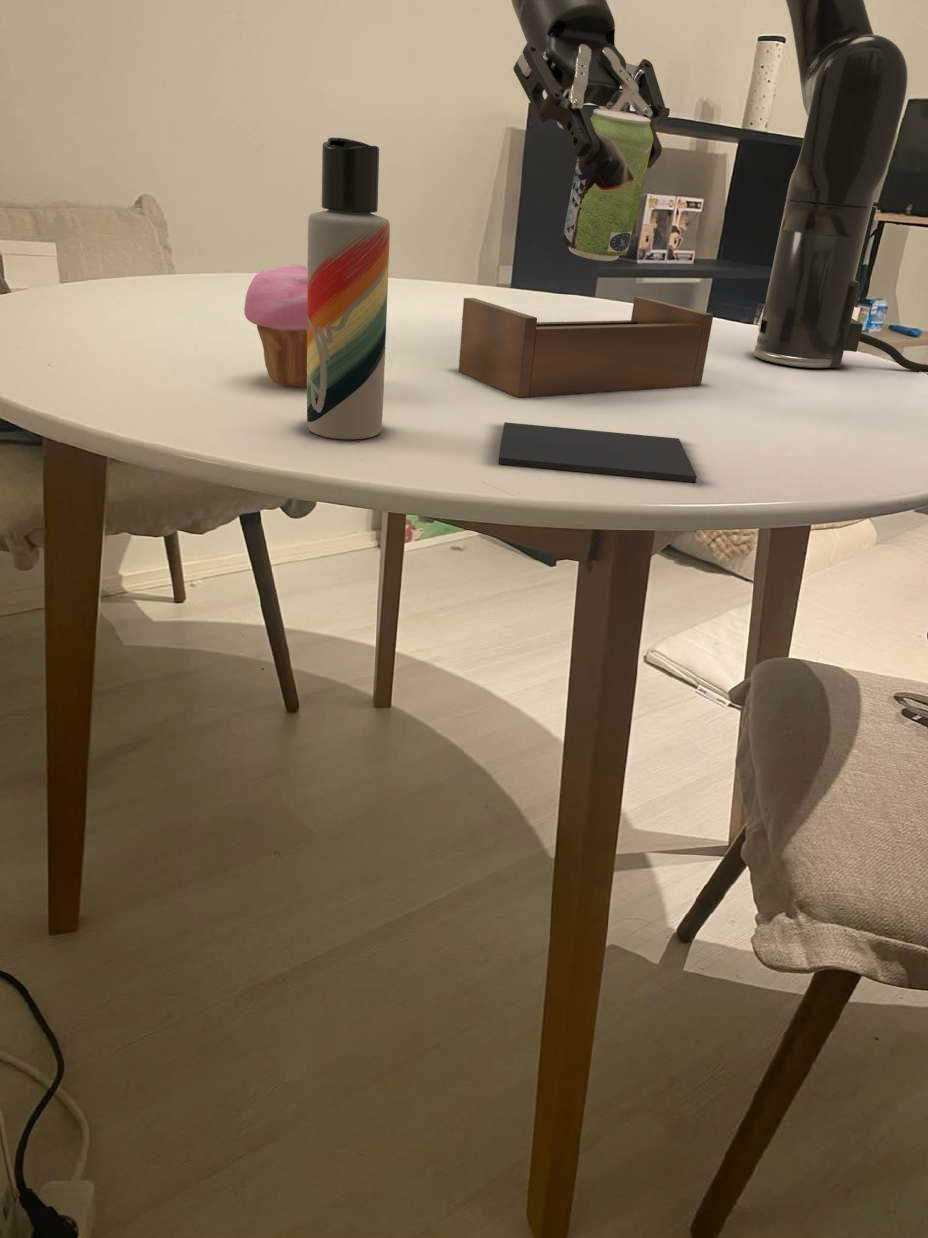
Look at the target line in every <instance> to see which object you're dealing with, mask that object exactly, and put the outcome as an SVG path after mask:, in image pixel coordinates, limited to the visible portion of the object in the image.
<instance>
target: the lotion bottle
mask: <svg viewBox="0 0 928 1238" xmlns="http://www.w3.org/2000/svg"><path fill="white" fill-rule="evenodd" d="M321 157H322V158H321V162H322V163H321V208H322V209H324V210H321V211H316V212H313V213H310V214H309V215H308V220H307V268H308V286H307V386H306V423H307V428H308V430H309V431H310V432H311V433H313V434H315V435H317V436H320V437H324V438H329V439H337V440H362V439H368V438H372V437H375V436H377V435H379V434H380V433H381V431H382V427H383V426H382V425H383V416H384V415H383V414H384V412H383V411H384V395H385V394H384V392H385V390H384V389H385V365H386V343H387V341H386V339H387V319H388V317H387V315H388V292H389V291H388V290H389V269H390V268H389V267H390V266H389V265H390V238H391V237H390V236H391V234H390V233H391V224H390V221H389V219H387V218H385V217H382V216H380V215H377V214H374V213H378V208H379V173H380V171H379V170H380V147H378V146H377V145H370V144H368V143H365V142H362V141H358V140H354V139H351V138H344V137H329V138H327V141H324V142H323V143H322V153H321Z"/></svg>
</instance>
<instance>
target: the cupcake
mask: <svg viewBox="0 0 928 1238" xmlns="http://www.w3.org/2000/svg"><path fill="white" fill-rule="evenodd" d="M307 286H308V266H305V265H302V264H293V265H288V266H282V267H281V266H280V267H276V268H270V269H265V270H261V271H259V272H258V273H256V274H255V276H254V277H253V278H252V280H251V282H250V284H249V286H248V288H247V290H246V295H245V300H244V308H243V310H244V316H245V318H246V320H247V321H248V322H250V323H251V324H254V325H255V326H256V328H257V332H258V335H259V339H260V341H261V344H262V348H263V359H264V364H265V368H266V372H267V375H268V377H269V379H271V381H272V382H273V383H275V384H278V385H282V386H299V387H307Z"/></svg>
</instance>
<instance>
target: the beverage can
mask: <svg viewBox="0 0 928 1238" xmlns="http://www.w3.org/2000/svg"><path fill="white" fill-rule="evenodd" d="M589 118H590V120H591V122H592V125H593V127H594V130H595V132H596V135H597V137H598V140H599V142H600V149H599V151H598V153H597V154H596V155H595V157H594V158H593V160H592V161H591V162H590V163H589V164H587V163H580V161H579V159H578V158H577V160H576V164H575V170H574V174H573V175H574V176H573V180H572V186H571V192H570V196H569V201H568V207H567V212H566V218H565V224H564V228H563V234H562V242H563V243H564V245H566V246H567V247H568V250H569V252H570V253H572V254H574V255H576V256H577V257H580V258H583V259H584V258H585V259H588V260H594V261H603V262H611V261H616V260H618V259H619V257H620V256H624V255H626V254H627V253H628V252H629V248H630V243H631V239H632V235H633V230H634V226H635V222H636V217H637V214H638V213H637V212H638V208H639V205H640V200H641V195H642V191H643V187H644V183H645V178H646V174H647V169H648V168H647V165H648V161H649V156H650V152H651V147H652V143H653V134H652V131H651V128H650V122H651V120H650V119H649V118H646V117H644V116H640V115H636V113H632V112H628V111H627V112H622V111H616V110H608V109H601V108H595V109H593V110H592V115H591V117H589Z"/></svg>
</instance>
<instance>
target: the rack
mask: <svg viewBox="0 0 928 1238" xmlns="http://www.w3.org/2000/svg"><path fill="white" fill-rule="evenodd" d="M462 303H463V305H462V318H461V331H460V333H461V334H460V345H459V358H458V360H459V361H458V372H459V373H462V374H464V375H466V376H468V377H471V378H472V379H475V380H478V381H479V382H482V383H485V384H487V385H489V386H491V387H494V388H495V389H498V390H501V391H502V392H506V393H508V394H510V395H512V396H515V397H517V398H532V397H544V396H545V397H547V396H560V395H574V394H575V395H576V394H591V393H604V392H607V393H608V392H619V391H636V390H650V389H651V390H652V389H664V388H679V387H680V388H681V387H694V386H697V387H698V386H702V383H703V382H702V381H703V375H704V370H705V364H706V359H707V355H708V354H707V353H708V348H709V342H710V338H711V331H712V326H713V320H714V313H710V312H705V311H701V310H697V309H693V308H690V307H685V306H681V305H677V304H673V303H669V302H666V301H661V300H657V299H653V298H649V297H646V296H634V298H633V304H632V310H631V318H630V319H629V320H623V319H622V320H585V321H584V320H583V321H582V320H581V321H579V320H578V321H540V322H539V321H538V318H537V317H536V316H533V315H530V314H527V313H523V312H519V311H517V310H514V309H510V308H507V307H504V306H500V305H497V304H494V303H491V302H487V301H485V300H481V299H478V298H475V297H463V302H462Z"/></svg>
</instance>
